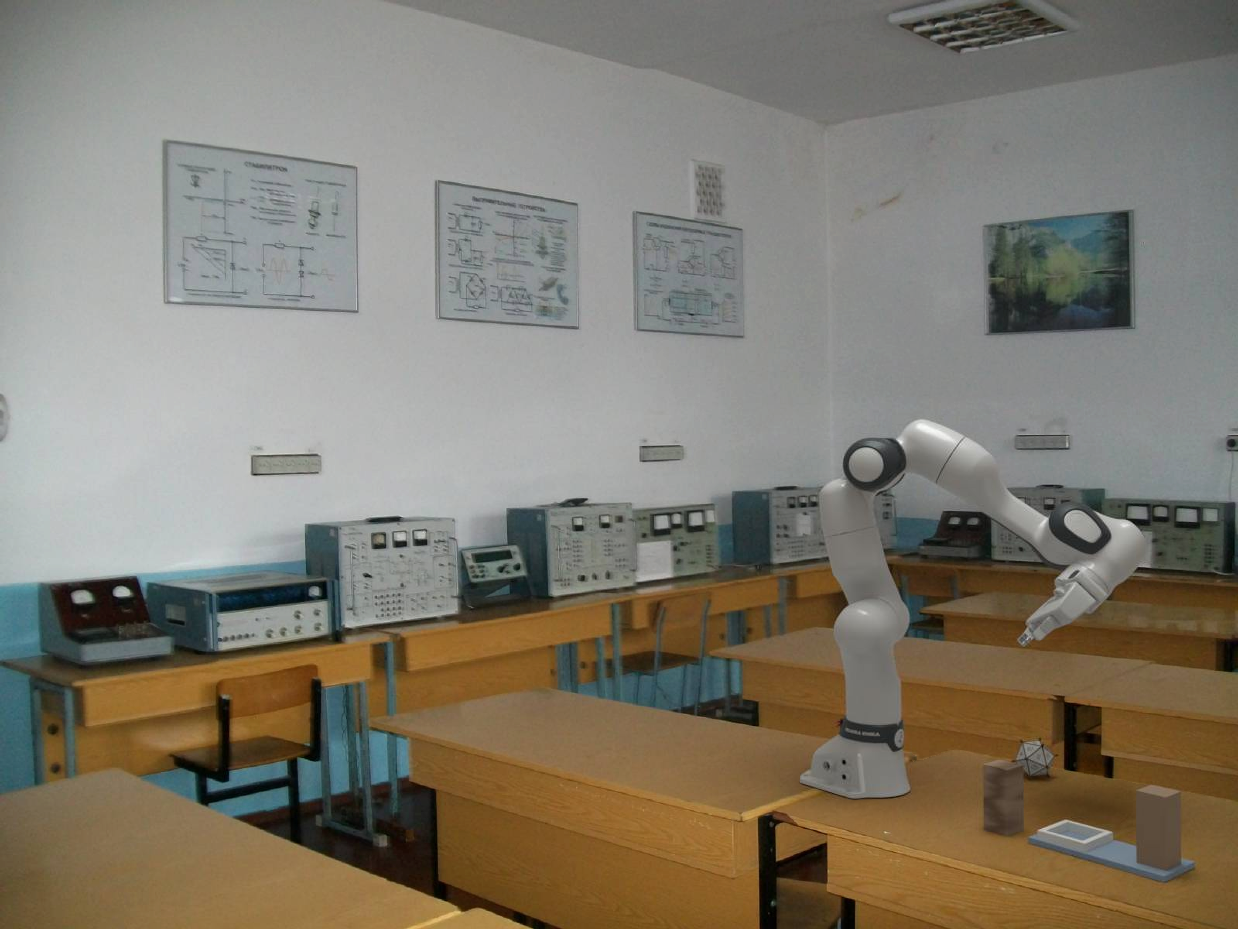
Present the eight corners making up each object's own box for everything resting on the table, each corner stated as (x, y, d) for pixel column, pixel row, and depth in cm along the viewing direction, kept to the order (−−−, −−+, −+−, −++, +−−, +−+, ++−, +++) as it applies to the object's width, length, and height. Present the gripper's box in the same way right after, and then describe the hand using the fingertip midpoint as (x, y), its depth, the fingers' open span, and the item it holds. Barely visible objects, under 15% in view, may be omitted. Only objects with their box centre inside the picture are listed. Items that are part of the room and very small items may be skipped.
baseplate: (1028, 843, 210) (1027, 769, 210) (1059, 830, 216) (1059, 759, 216) (1164, 882, 191) (1164, 802, 191) (1194, 867, 197) (1194, 789, 197)
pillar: (983, 829, 218) (983, 764, 217) (999, 823, 221) (999, 759, 220) (1007, 836, 214) (1007, 770, 213) (1023, 830, 217) (1023, 765, 217)
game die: (1026, 795, 250) (996, 756, 251) (1042, 772, 256) (1012, 735, 257) (1058, 783, 243) (1027, 743, 245) (1073, 760, 249) (1043, 721, 250)
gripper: (1049, 586, 235) (1000, 634, 233) (1083, 569, 215) (1030, 621, 213) (1074, 610, 233) (1025, 658, 231) (1110, 595, 213) (1057, 647, 211)
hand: (1028, 640), depth 222 cm, fingers open, 8 cm apart
